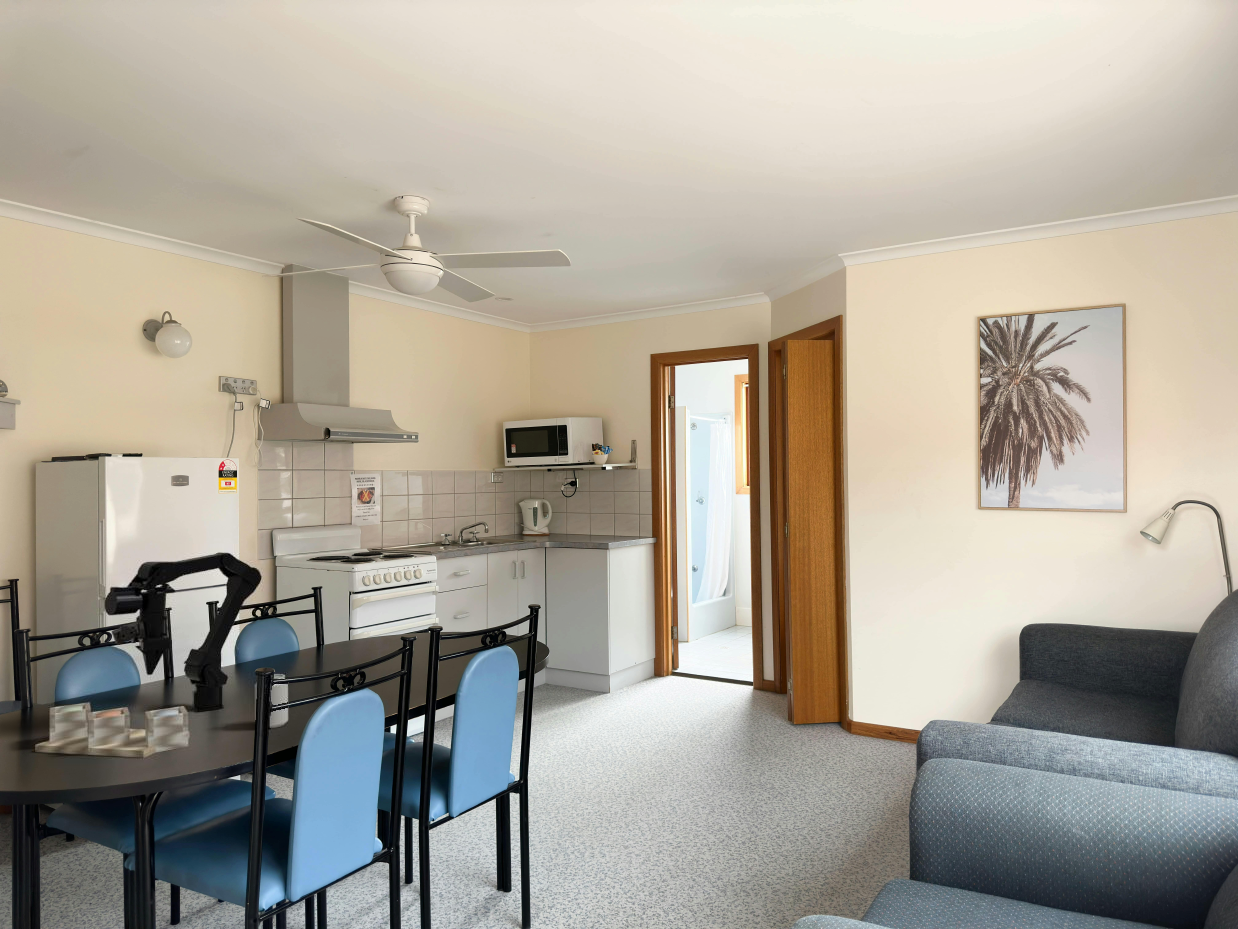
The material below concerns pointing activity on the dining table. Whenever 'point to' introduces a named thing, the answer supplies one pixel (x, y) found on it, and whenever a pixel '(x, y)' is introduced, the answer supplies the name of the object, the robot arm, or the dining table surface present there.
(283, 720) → the can
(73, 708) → the button sage
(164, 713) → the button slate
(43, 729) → the dining table surface
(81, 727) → the button console
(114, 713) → the button terracotta
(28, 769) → the dining table surface
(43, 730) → the dining table surface
